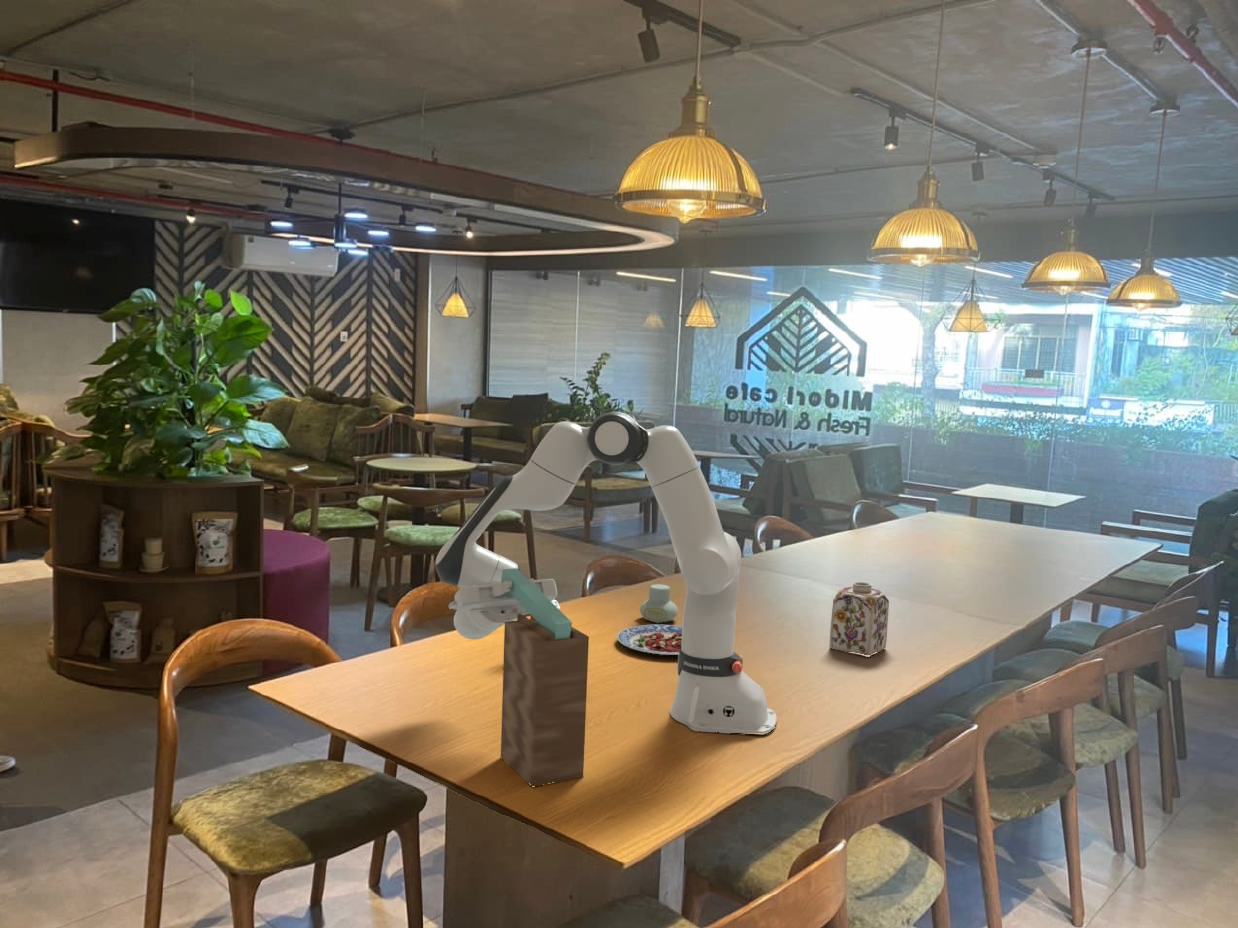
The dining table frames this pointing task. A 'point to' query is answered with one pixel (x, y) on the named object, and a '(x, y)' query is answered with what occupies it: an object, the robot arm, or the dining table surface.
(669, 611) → the air freshener
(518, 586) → the teal rod
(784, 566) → the dining table surface
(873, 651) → the decorative jar
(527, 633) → the walnut stand
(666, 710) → the dining table surface
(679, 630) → the ceramic plate
